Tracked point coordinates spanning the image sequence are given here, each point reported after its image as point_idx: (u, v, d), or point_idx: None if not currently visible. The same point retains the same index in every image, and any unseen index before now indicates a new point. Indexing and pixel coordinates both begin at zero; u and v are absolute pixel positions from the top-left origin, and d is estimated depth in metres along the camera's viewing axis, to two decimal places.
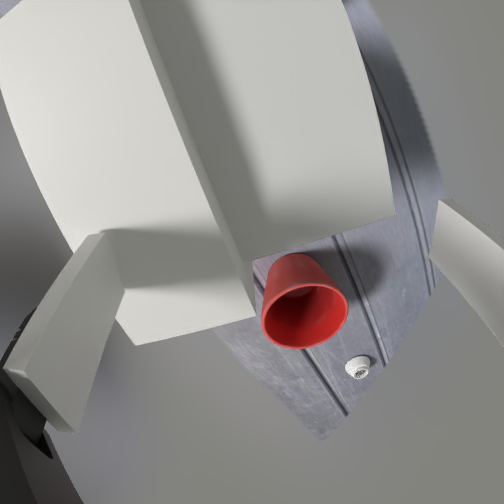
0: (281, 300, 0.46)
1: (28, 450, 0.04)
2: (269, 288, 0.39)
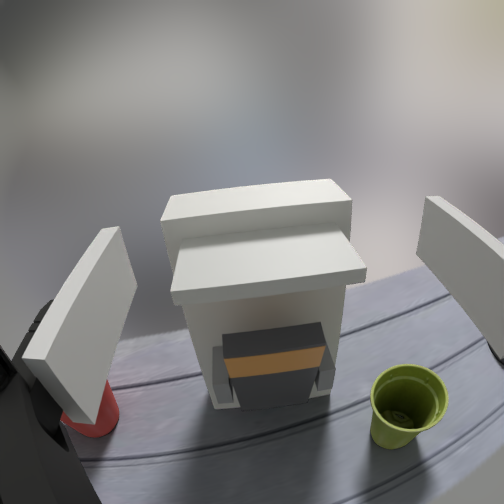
0: None
1: (46, 442, 0.04)
2: None
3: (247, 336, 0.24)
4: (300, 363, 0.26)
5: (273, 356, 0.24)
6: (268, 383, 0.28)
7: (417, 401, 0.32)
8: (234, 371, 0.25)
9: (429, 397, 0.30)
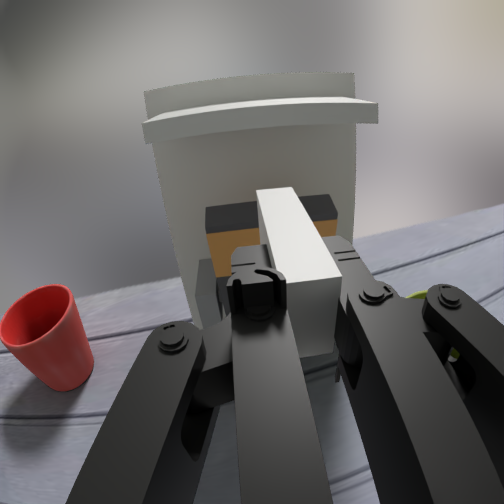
0: None
1: None
2: None
3: (237, 207, 0.20)
4: None
5: None
6: None
7: None
8: (221, 262, 0.21)
9: None
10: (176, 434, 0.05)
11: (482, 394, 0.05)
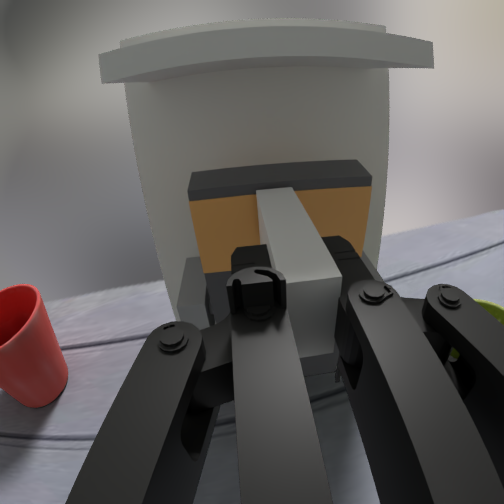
0: None
1: None
2: None
3: (234, 170, 0.14)
4: None
5: None
6: None
7: None
8: (210, 248, 0.15)
9: None
10: (177, 434, 0.05)
11: (482, 394, 0.05)
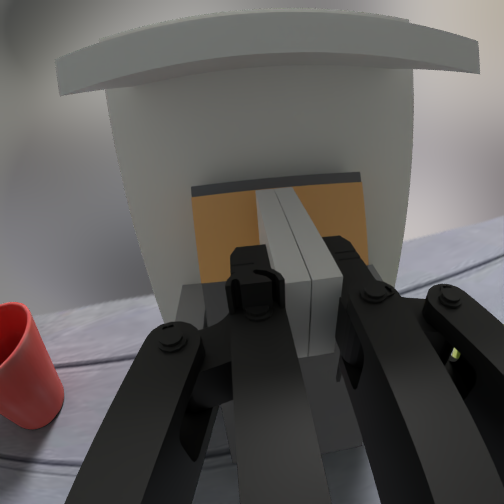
0: None
1: None
2: None
3: None
4: None
5: None
6: None
7: None
8: (209, 250, 0.14)
9: None
10: (175, 434, 0.05)
11: (483, 394, 0.05)
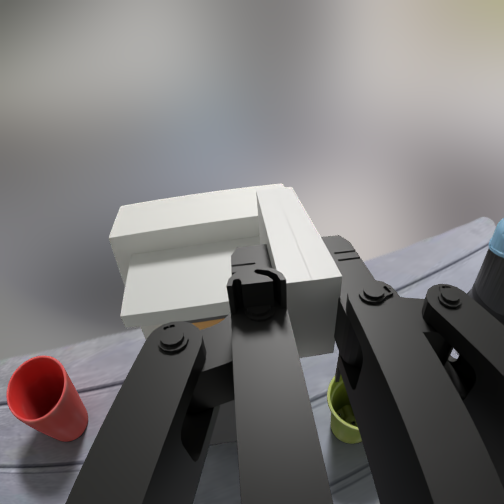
0: (52, 400, 0.37)
1: None
2: None
3: None
4: None
5: None
6: None
7: None
8: None
9: None
10: (177, 434, 0.05)
11: (482, 394, 0.05)
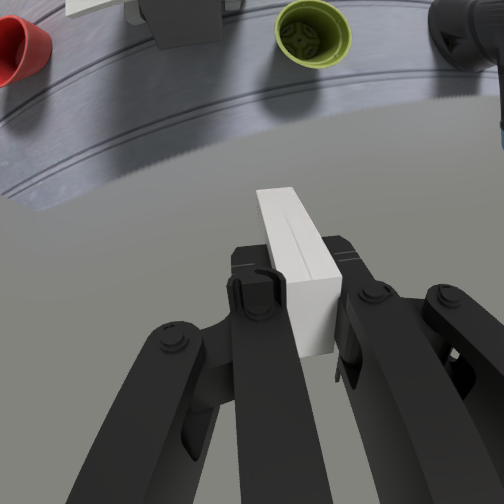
0: (16, 42, 0.29)
1: None
2: None
3: None
4: None
5: None
6: (174, 5, 0.23)
7: (326, 29, 0.33)
8: None
9: (336, 35, 0.32)
10: (177, 434, 0.05)
11: (482, 394, 0.05)
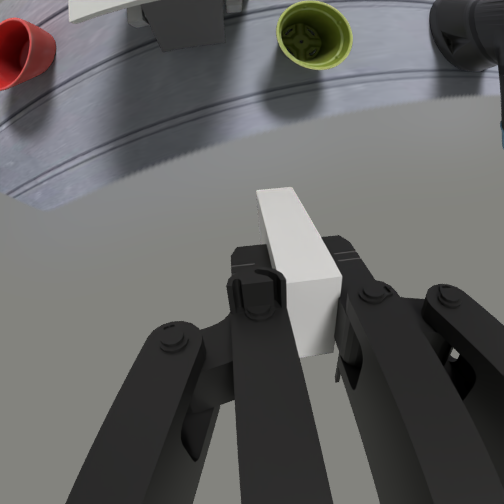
0: (20, 44, 0.30)
1: None
2: (34, 25, 0.26)
3: None
4: None
5: None
6: (176, 8, 0.24)
7: (328, 30, 0.34)
8: None
9: (337, 36, 0.32)
10: (177, 434, 0.05)
11: (482, 394, 0.05)
